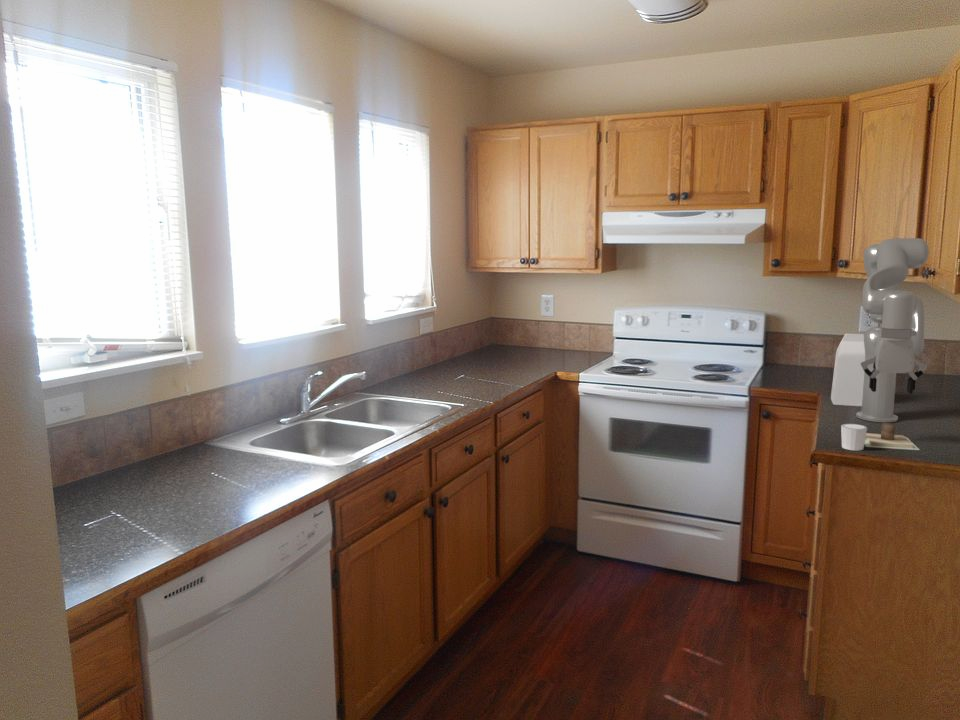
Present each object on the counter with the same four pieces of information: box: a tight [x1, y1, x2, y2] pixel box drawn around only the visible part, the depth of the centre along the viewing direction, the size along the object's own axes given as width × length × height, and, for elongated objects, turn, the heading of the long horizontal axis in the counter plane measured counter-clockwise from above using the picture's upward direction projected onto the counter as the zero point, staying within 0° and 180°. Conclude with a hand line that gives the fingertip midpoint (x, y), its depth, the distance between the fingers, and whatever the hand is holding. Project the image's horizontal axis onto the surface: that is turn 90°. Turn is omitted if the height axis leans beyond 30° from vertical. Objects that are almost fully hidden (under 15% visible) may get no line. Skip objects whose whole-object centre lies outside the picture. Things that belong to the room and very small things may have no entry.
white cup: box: [840, 423, 868, 451], centre depth 209 cm, size 7×7×7 cm
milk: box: [830, 333, 865, 407], centre depth 268 cm, size 12×12×26 cm
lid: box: [865, 422, 914, 448], centre depth 214 cm, size 11×11×6 cm
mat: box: [864, 436, 921, 451], centre depth 215 cm, size 14×14×1 cm
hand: (891, 391), depth 212 cm, fingers open, 9 cm apart
